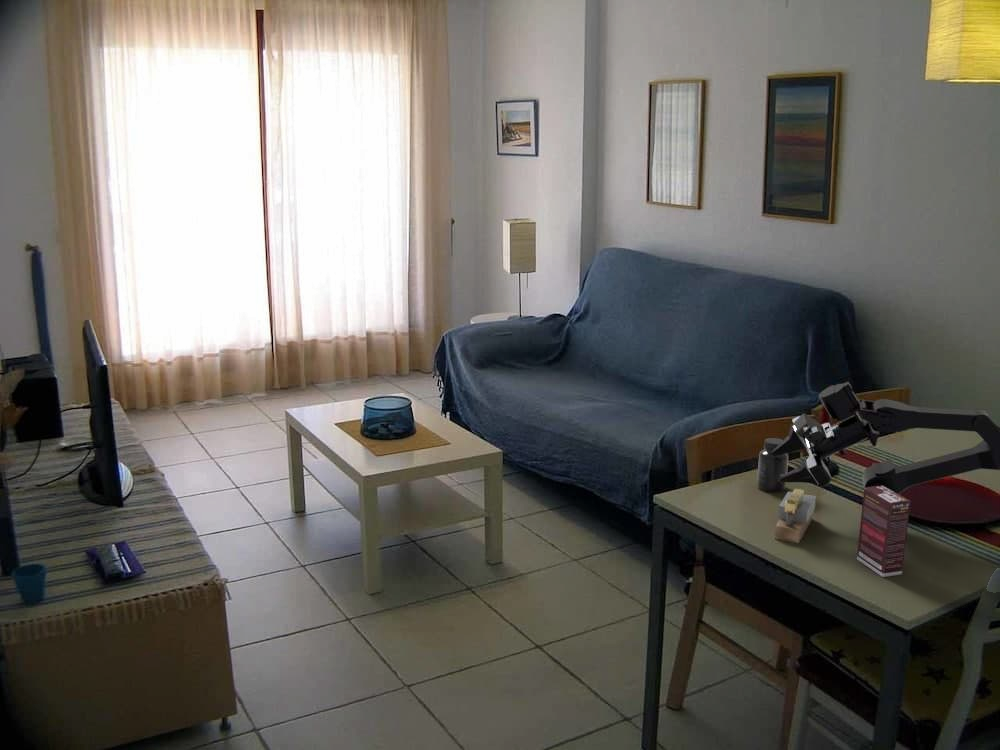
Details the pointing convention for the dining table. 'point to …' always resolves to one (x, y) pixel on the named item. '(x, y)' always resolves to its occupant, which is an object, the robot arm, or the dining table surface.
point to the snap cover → (799, 509)
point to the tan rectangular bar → (794, 501)
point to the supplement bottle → (771, 467)
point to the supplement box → (883, 530)
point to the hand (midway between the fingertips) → (775, 467)
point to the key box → (791, 529)
